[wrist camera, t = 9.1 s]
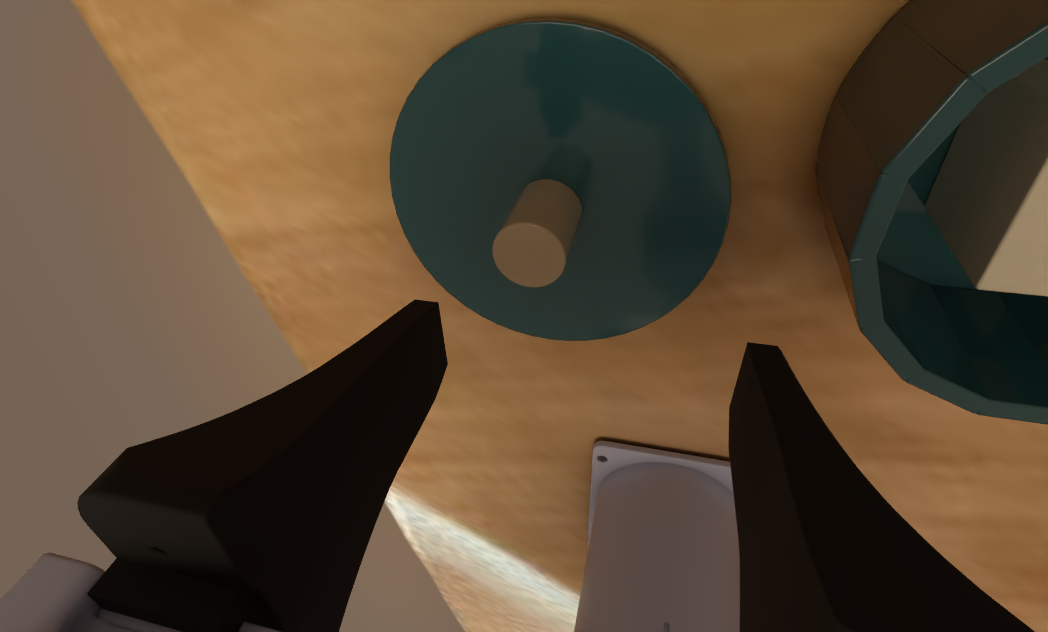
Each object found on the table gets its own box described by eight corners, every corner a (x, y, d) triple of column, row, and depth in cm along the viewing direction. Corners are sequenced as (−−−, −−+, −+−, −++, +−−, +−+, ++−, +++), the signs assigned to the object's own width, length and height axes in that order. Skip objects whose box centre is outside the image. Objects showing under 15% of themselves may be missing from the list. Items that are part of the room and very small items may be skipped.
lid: (700, 342, 24) (699, 418, 20) (425, 307, 26) (385, 370, 23) (766, 14, 16) (782, 53, 13) (372, 11, 19) (302, 43, 15)
